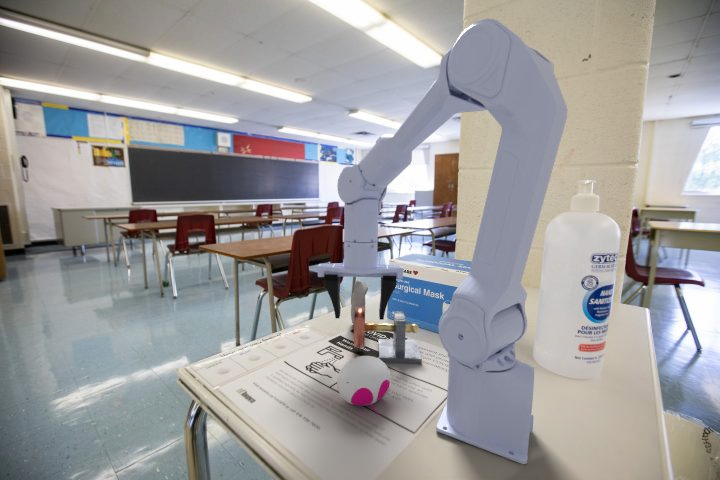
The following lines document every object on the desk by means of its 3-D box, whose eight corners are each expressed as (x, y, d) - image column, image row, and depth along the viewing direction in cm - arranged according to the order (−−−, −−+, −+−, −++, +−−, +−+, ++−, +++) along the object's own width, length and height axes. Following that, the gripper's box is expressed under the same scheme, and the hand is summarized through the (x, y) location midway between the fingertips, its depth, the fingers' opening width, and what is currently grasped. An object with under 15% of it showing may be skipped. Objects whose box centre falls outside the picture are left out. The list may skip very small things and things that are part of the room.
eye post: (415, 343, 58) (416, 309, 57) (421, 363, 51) (423, 324, 50) (378, 343, 58) (379, 308, 57) (379, 362, 51) (380, 323, 51)
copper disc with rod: (415, 338, 58) (416, 303, 57) (421, 356, 51) (422, 317, 50) (355, 336, 58) (355, 302, 57) (353, 354, 51) (354, 315, 51)
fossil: (363, 332, 63) (364, 284, 62) (347, 330, 64) (347, 283, 62) (368, 321, 69) (369, 277, 67) (353, 319, 69) (354, 276, 68)
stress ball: (345, 439, 39) (358, 419, 35) (325, 379, 44) (334, 356, 40) (395, 418, 42) (412, 398, 38) (371, 365, 48) (384, 342, 43)
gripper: (401, 238, 56) (398, 309, 58) (322, 236, 56) (322, 307, 58) (405, 244, 49) (402, 324, 51) (315, 242, 49) (315, 322, 51)
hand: (359, 316), depth 54 cm, fingers open, 7 cm apart
